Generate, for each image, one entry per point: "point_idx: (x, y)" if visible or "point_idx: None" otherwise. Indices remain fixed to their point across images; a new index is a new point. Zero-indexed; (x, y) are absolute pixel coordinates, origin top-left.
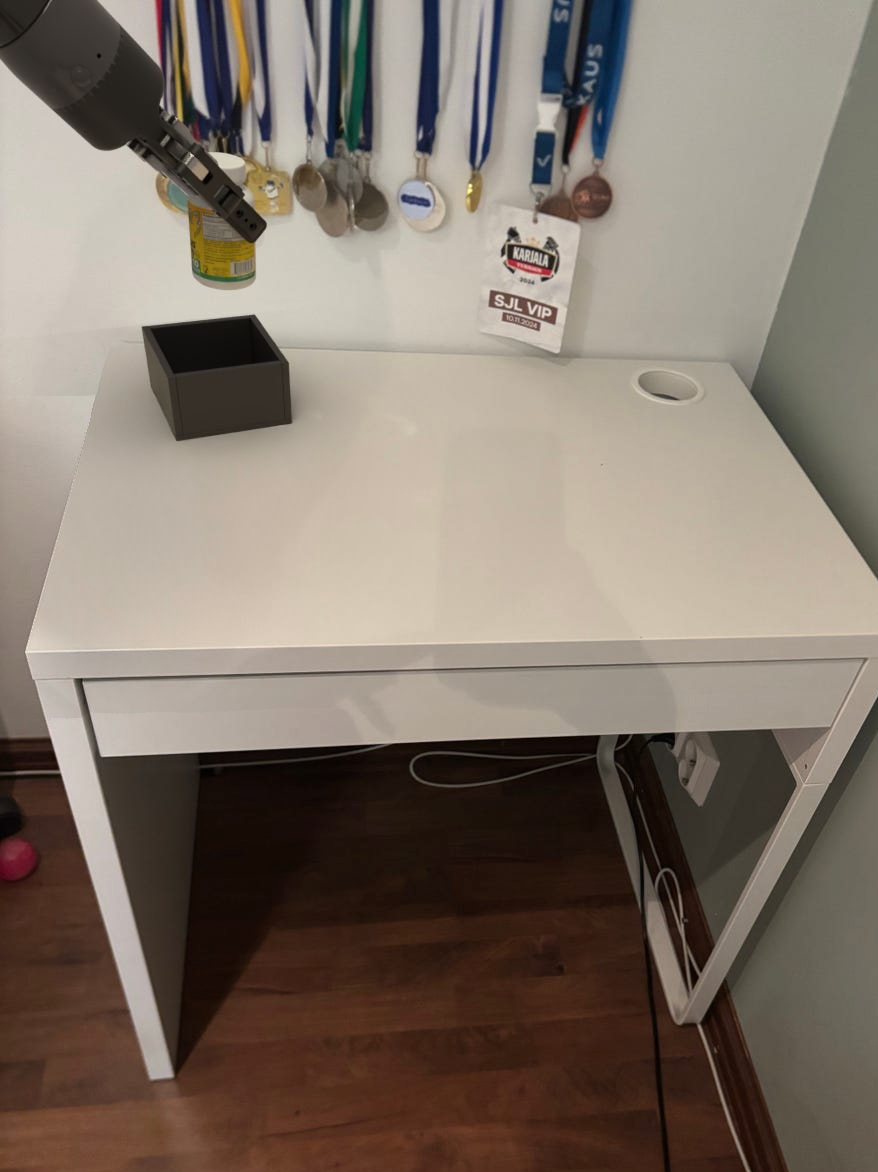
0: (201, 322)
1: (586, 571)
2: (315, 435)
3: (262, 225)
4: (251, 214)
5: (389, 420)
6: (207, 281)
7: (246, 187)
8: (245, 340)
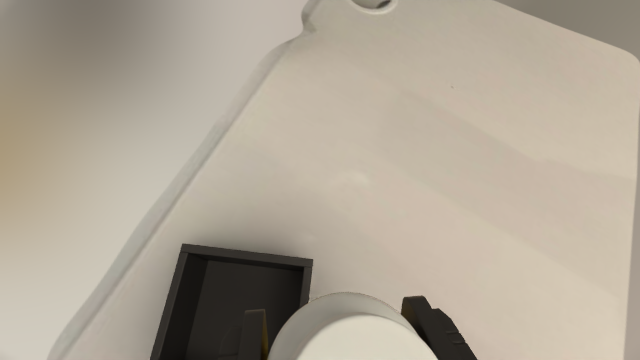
0: (170, 315)
1: (568, 167)
2: (339, 255)
3: (442, 313)
4: (468, 347)
5: (340, 185)
6: None
7: (363, 311)
8: (195, 263)
